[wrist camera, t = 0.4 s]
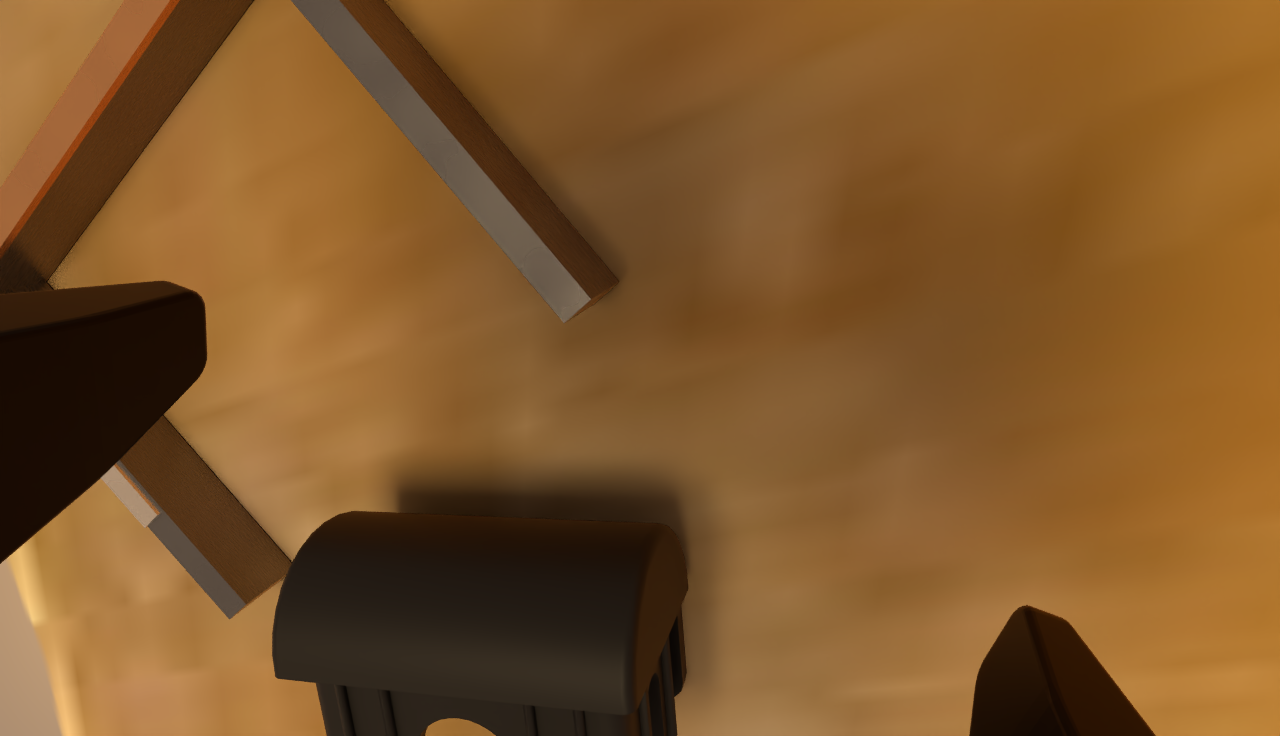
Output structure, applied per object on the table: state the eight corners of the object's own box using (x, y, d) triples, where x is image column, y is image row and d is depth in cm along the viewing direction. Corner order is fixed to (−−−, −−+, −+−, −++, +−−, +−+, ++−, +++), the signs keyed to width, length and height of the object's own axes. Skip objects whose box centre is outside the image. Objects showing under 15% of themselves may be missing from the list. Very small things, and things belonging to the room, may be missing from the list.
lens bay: (279, 581, 31) (223, 624, 28) (13, 277, 30) (-69, 292, 27) (619, 281, 24) (587, 301, 22) (289, -111, 24) (216, -139, 21)
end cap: (687, 479, 25) (622, 597, 19) (703, 688, 27) (649, 859, 21) (389, 471, 28) (246, 572, 22) (421, 661, 30) (297, 805, 24)
